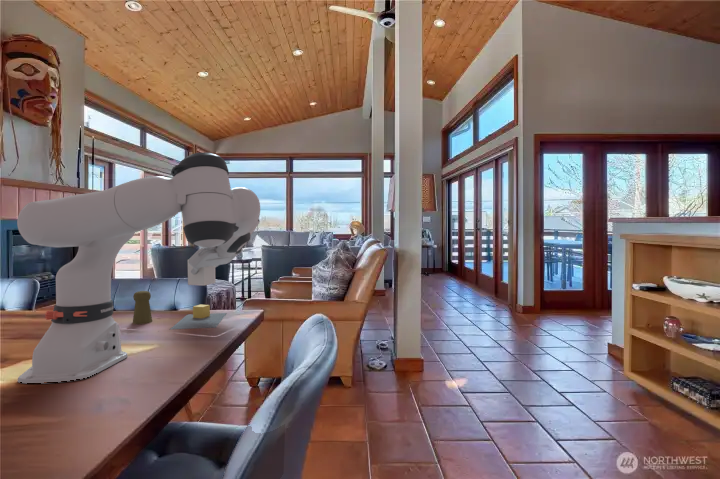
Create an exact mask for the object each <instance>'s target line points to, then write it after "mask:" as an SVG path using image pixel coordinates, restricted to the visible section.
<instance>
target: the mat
mask: <svg viewBox="0 0 720 479" xmlns="http://www.w3.org/2000/svg"><path fill="white" fill-rule="evenodd" d="M227 314H228V313H227V312H224V313H223V312H221V313H216V312H215V313H210V316H208V317H205V318H193V313H191V314H186V315H185V316H184V317H183V318H181V319H180V320H179V321H178V322H177V323H176V324H174V325H173V326H172V327H171V328H169V330H189V329H190V330H191V329H194V330H195V329H216V328H217V327H218V326H219V325H220V323H221V322H222V321H223V319H224V318H225V317H226V315H227Z"/></svg>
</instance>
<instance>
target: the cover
mask: <svg viewBox="0 0 720 479" xmlns="http://www.w3.org/2000/svg"><path fill="white" fill-rule="evenodd" d="M189 259H190V258H189ZM189 259H187V285H188V286H200V287H201V286H208V285H213V284H216V268H215V266H209V267H202V268H200V269H199V270H198V271H199V272H198V273H197V274H194V275H193V274H192V273H191V270H192V269H193V267H192V266H191V265H190V264H189Z"/></svg>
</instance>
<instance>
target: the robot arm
mask: <svg viewBox="0 0 720 479" xmlns="http://www.w3.org/2000/svg"><path fill="white" fill-rule="evenodd" d="M170 174H171V176H172V177H166V176H160V175H159V176H158V175H157V176H155V175H154V176H147V177H141V178H136V179H134V180H130V181H129V180H128V181H126V182H124V183H121V184H117V185H116V186H115V185H114V186H113V187H110V188H107V189H104V190H100V191H94V192H85V193H81V194H75V195H70V196H65V197H60V198H53V199H45V200H39V201H37V200H36V201H31V202H28V203H27V204H25V206H24V205H23V206H24V207H22V209H21V210H20V212H19V213H18V216H17V221H16V222H17V223H16V225H17V230H18V232H19V234H20V236H21V237H22V238H23V240H24V241H26V242H27V243H28V244H31V245H34V246H36V245H37V246H41V247H49V248H71V247H72V248H73V247H78V249H77V253H76V255H75V257H74V258H73V259H72V260H71V261H69V262H67V263H66V264H64V265H62V266H61V267H60V268H59V269H58V271H57V272H56V275H55V302H56V303H55V305H54V306H53V310H47V311H46V312H45V314H44V315H45V316H44V318H45V320H49V321H50V320H51V323H50V326H49V327H48V328H47V331H45V333H44V335H43V336H42V337H41V339H40V340H39V341H38V344H37V345H36V346H35V348H34V349H33V352H32V361H31V366H30V367H29V368H27V369H26V370H25V371H24V372H23V373H22V374H20V375H19V376H18V377H17V383H20V382H22V383H21V384H27V383H41V384H45V383H44V382H58V383H62V382H61V381H67V382H71V381H70V380H74V381H77V380H76V379H80V380H84V379H83V378H85V379H88V378H87V377H89V378H91V377H93V376H94V374H95V375H96V373H97V374H98V373H100V372H102V371H104V370H106V369H107V368H109V367H112V366H114V365H115V364H117V363H119V362H120V361H121V362H122V361H123V360H125V359H126V358H128V352H126V351H122V340H121V330H120V329H121V328H120V324H119V323H118V322H117V321H115V319H114V318H113V314H114V308H115V307H114V301H113V300H112V289H111V288H112V271H113V267H114V263H115V260H116V258H117V256H118V255H119V252H120V251H121V250H122V248H123V247H124V245H125V244H126V243H127V242H129V241H130V240H132V238H133V237H134V235H135V233H137V232H141V231H145V230H148V229H150V228H153V227H156V226H159V225H160V224H164V223H166V222H168V220H171V219H172V218H174V217H175V216H176V215H178V214H179V213H181V217H182V220H183V221H182V222H183V233H184V236H185V239H186V241H187V242H188V243H189V244H191V245H193V246H197V247H201V248H199V249H198V250H197V251H195V252H194V254H193V255H191V256H190V258H189V264H190V265H191V266H192V267H193V269H192V270H191V273H192V274H193V275H194V274H197V273H198V272H199V271H198V270H199V269H200V268H202V267H209V266H215V269H216V268H217V267H219V266H221V265H226V264H229V263H230V262H232V261H233V260H234V259H235V258H236V257H237V256H238V254H242V252H243V251H244V249H243V248H245V246H246V245H247V244H248V243H249V242H250V240H251V235H252V234H253V233H254V232H255V230H256V229H257V227H258V226H259V224H260V222H261V221H260V215H261V202H260V199H259V197H258V196H257V194H256V193H255V192H254V191H253V190H251V189H250V188H247V187H244V186H236V187H233V188H231V183H230V179H229V175H230V171H229V168H228V165H227V163H226V161H225V159H224V158H222V157H221V156H220V155H218V154H215V153H212V152H195V153H192V154H191V153H190V155H188V156H186V157H185V158H183V159H182V160H181V161H180V162H179V163H178V164H177V165H175V166H173V167H172V168H171V171H170ZM92 375H93V376H92ZM90 376H91V377H90Z"/></svg>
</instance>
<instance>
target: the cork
mask: <svg viewBox="0 0 720 479" xmlns="http://www.w3.org/2000/svg"><path fill="white" fill-rule="evenodd" d="M151 297H152V294H151V292H150V291H148V290H139V291H135V292H134V293H133V297H132V298H133V300H134V308H133V318H132V324H133V325H145V324H150V323H152V322H153V317H152V310H151V306H150V305H151V304H150V300H151Z"/></svg>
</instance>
